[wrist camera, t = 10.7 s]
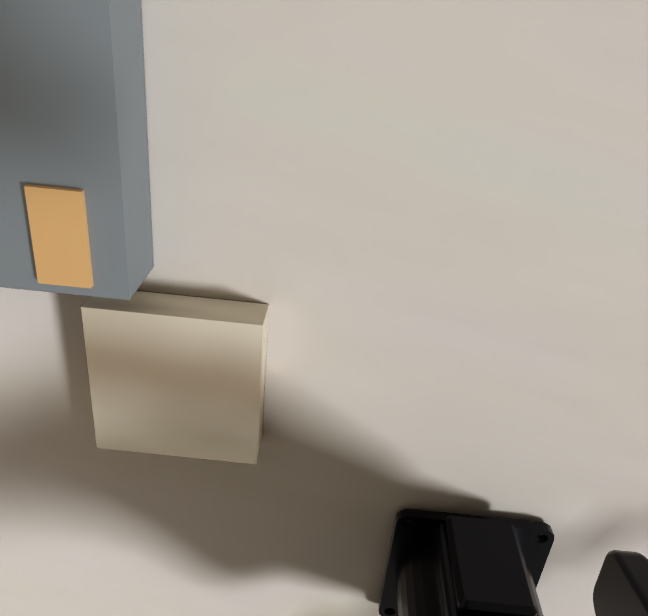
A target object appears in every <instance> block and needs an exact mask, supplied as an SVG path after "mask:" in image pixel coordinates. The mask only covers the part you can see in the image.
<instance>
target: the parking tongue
mask: <svg viewBox="0 0 648 616" xmlns="http://www.w3.org/2000/svg"><path fill="white" fill-rule="evenodd" d="M268 310H269V304H260V303H250V302H241V301H231V300H221V299H211V298H201V297H191V296H181V295H172V294H162V293H152V292H142V291H136V292H135V293H134V295H133V296H132V297H131V299H130V300H123V299H113V298H103V297H93V296H90V297H89V298H88V299H87V300H86V302H85V303H84V304H83V305H82V306H81V313H82V322H83V331H84V339H85V348H86V357H87V366H88V375H89V384H90V393H91V402H92V411H93V420H94V429H95V438H96V446H97V448H100V449H110V450H120V451H129V452H139V453H149V454H159V455H168V456H178V457H188V458H197V459H207V460H217V461H227V462H236V463H246V464H257V459H258V454H259V450H260V445H261V440H262V428H263V408H264V389H265V369H266V349H267V329H268Z"/></svg>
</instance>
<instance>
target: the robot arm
mask: <svg viewBox="0 0 648 616" xmlns="http://www.w3.org/2000/svg"><path fill="white" fill-rule="evenodd" d="M405 521H410V522H405ZM541 534H543V535H541ZM553 541H554V534H553V532H552V529H551V527H550V526H549V525H548V524H546V523H542V522H533V521H523V520H513V519H503V518H494V517H484V516H474V515H465V514H455V513H445V512H435V511H426V510H416V509H403V510H400V511H399V512H398V513H397V514H396V517H395V522H394V527H393V532H392V537H391V542H390V547H389V553H388V558H387V563H386V568H385V573H384V578H383V583H382V588H381V593H380V598H379V614H380V615H381V616H543V613H542V610H541V606H540V603H539V599H538V596H537V592H536V587H537V584H538V581H539V579H540V576H541V573H542V571H543V568H544V565H545V563H546V560H547V557H548V555H549V552H550V549H551V547H552V544H553ZM593 603H594V609H595V614H596V616H648V559H647V558H646V557H645V556H643V555H642V554H640V553H637V552H630V551H618V550H613V551H610V552H609V553H608V554H607V555H606V557H605V560H604V563H603V565H602V568H601V571H600V574H599V576H598V579H597V582H596V584H595V587H594V592H593Z"/></svg>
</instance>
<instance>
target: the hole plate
mask: <svg viewBox="0 0 648 616" xmlns="http://www.w3.org/2000/svg"><path fill="white" fill-rule="evenodd" d="M153 267H154V264H153V243H152V222H151V200H150V179H149V158H148V137H147V116H146V95H145V74H144V53H143V31H142V10H141V0H0V287H5V288H15V289H24V290H34V291H44V292H54V293H64V294H74V295H83V296H93V297H103V298H113V299H123V300H130V299H131V297H132V296H133V295H134V293H135V292H136V291H137V289H138V288H139V286H140V285H141V284H142V282H143V281H144V279H145V278H146V277H147V275H148V274H149V272H150V271H151V270H152V268H153Z"/></svg>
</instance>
